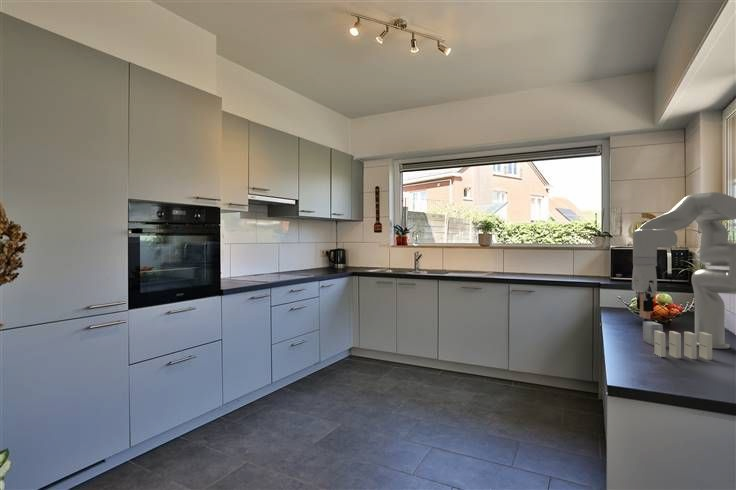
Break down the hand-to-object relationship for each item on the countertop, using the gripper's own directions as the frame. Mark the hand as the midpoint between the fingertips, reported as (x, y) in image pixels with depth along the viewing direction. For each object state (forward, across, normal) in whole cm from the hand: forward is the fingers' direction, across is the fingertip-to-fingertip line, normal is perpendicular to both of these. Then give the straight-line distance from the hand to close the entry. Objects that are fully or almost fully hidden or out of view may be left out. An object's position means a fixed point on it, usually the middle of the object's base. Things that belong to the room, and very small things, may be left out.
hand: (644, 309), depth 154 cm
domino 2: (+17, 0, +5) cm, 18 cm away
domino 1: (+3, 0, 0) cm, 3 cm away
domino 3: (+17, 0, +10) cm, 20 cm away
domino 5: (+17, 0, +20) cm, 26 cm away
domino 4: (+17, 0, +15) cm, 23 cm away
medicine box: (+17, -22, +12) cm, 30 cm away
